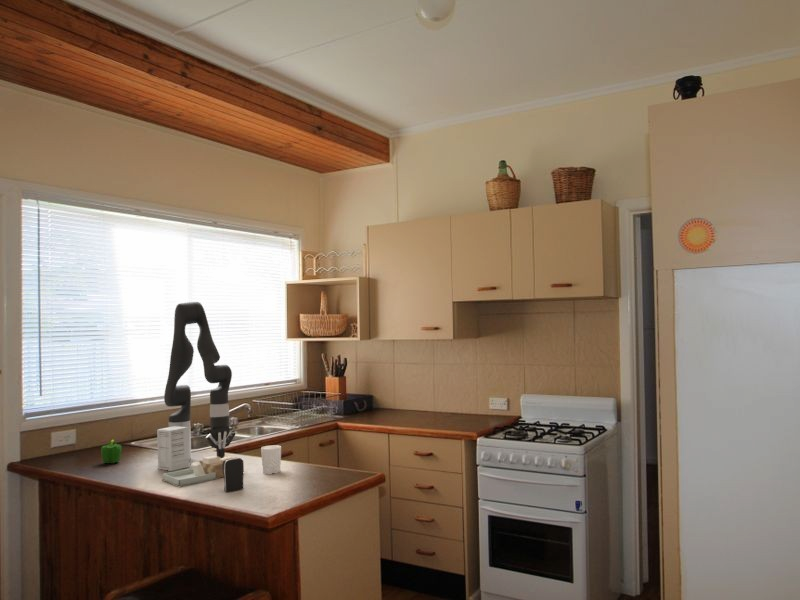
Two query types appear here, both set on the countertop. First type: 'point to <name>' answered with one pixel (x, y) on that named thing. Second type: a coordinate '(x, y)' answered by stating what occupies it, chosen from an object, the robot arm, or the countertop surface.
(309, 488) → the countertop surface
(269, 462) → the white cup
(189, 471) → the tray
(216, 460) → the tile back
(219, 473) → the tan flat block
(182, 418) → the robot arm
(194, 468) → the tile front
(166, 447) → the supplement box
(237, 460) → the battery charger
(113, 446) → the bell pepper
